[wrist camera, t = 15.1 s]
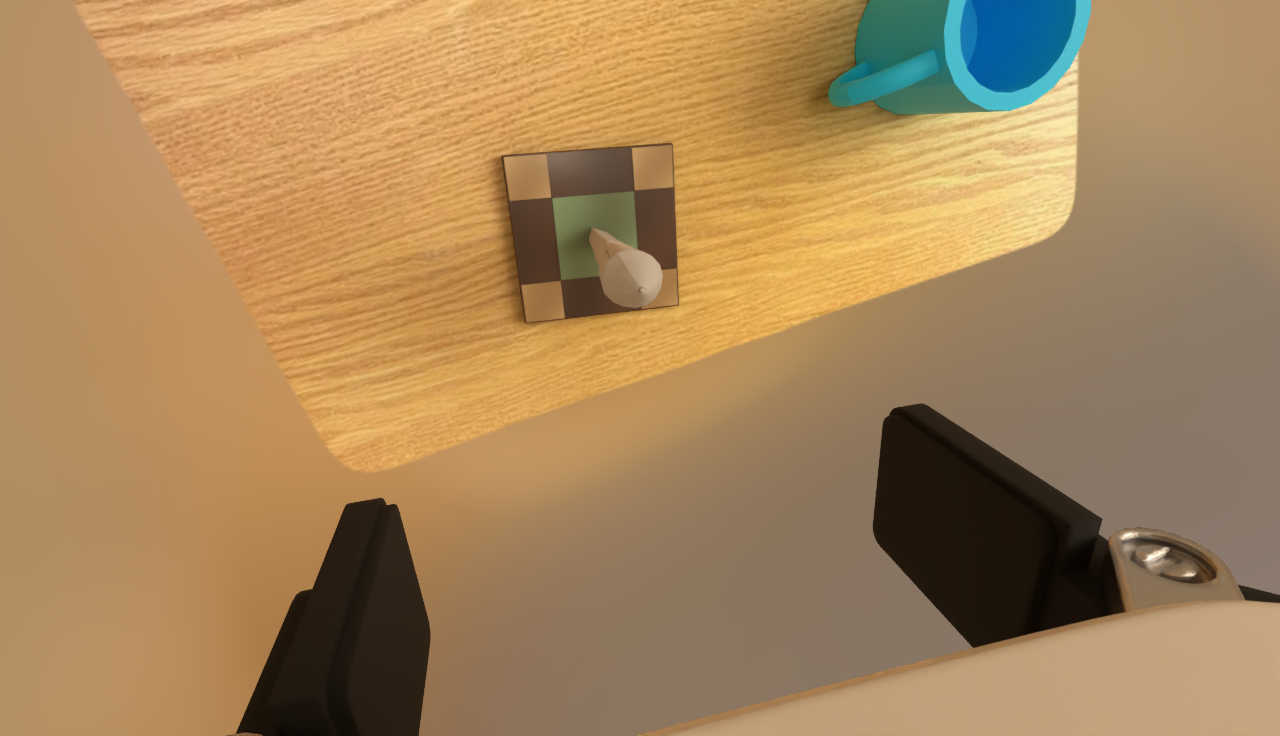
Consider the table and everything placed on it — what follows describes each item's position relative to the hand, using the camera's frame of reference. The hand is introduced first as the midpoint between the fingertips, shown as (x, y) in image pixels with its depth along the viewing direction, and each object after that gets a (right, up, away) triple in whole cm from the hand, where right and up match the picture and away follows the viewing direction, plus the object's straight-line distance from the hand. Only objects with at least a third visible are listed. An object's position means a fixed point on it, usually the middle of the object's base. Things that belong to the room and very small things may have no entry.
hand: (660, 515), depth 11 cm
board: (-3, +11, +26) cm, 28 cm away
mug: (+15, +22, +26) cm, 37 cm away
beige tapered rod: (-3, +11, +25) cm, 28 cm away
